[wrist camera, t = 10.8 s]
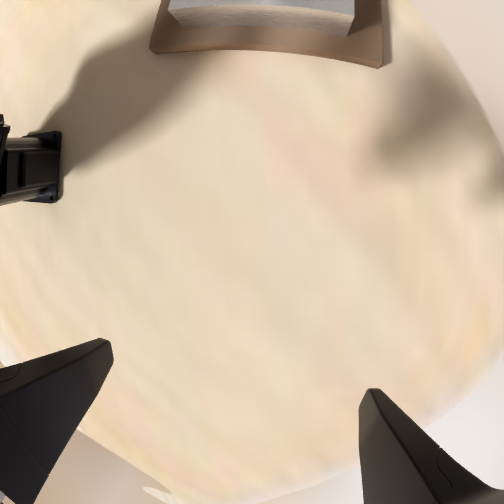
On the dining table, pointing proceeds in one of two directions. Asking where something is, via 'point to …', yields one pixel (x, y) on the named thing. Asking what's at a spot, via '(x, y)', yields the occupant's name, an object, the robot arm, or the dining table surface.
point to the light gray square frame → (266, 14)
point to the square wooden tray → (278, 37)
